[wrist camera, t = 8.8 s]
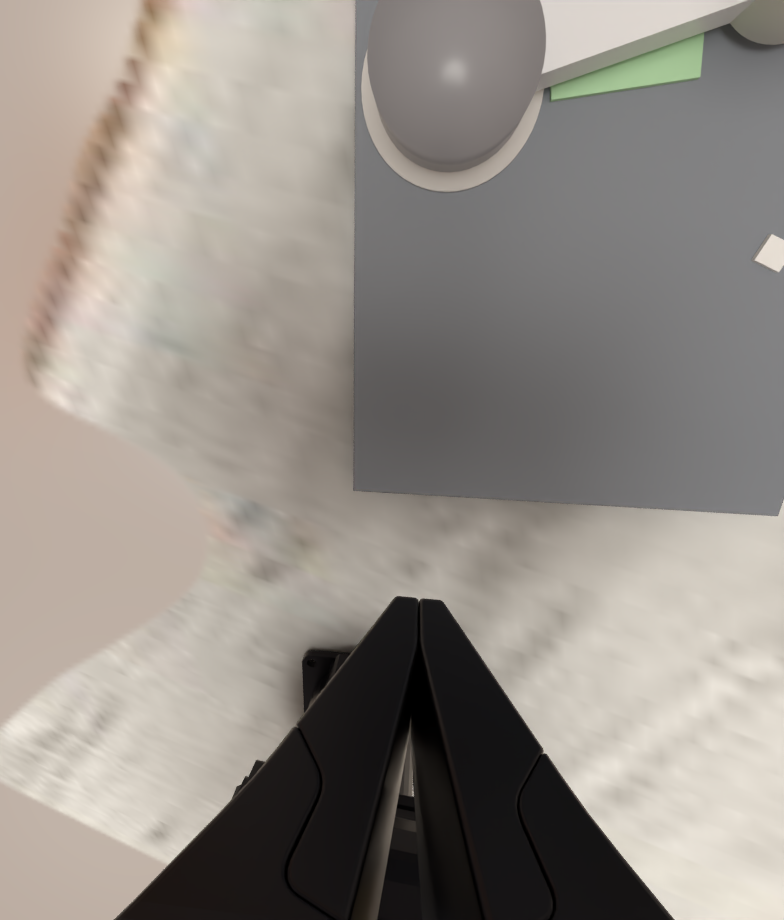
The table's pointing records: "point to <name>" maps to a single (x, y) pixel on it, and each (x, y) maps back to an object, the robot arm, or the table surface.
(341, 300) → the table surface
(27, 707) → the table surface
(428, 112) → the needle lever
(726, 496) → the board
